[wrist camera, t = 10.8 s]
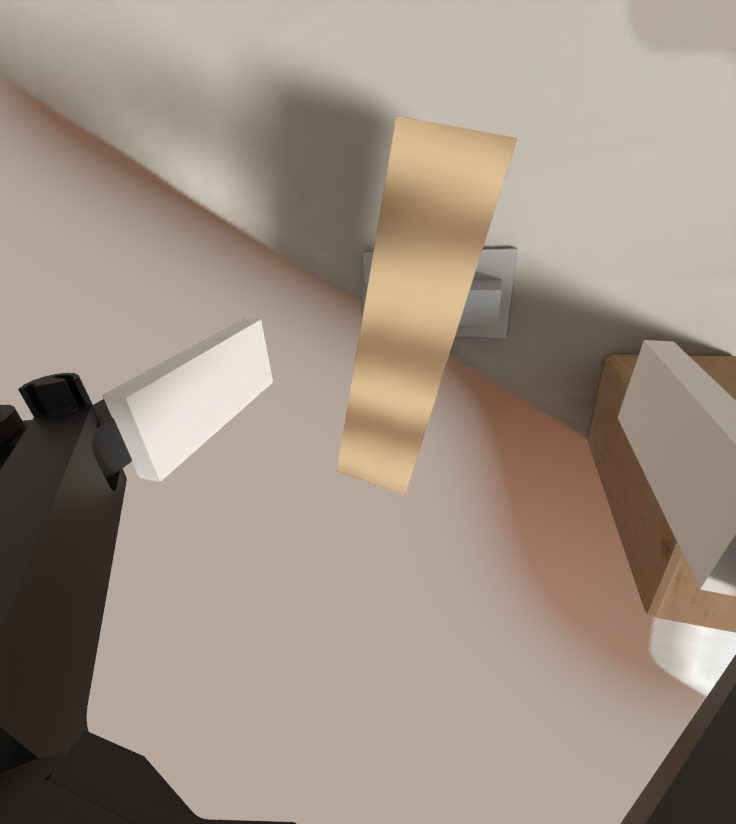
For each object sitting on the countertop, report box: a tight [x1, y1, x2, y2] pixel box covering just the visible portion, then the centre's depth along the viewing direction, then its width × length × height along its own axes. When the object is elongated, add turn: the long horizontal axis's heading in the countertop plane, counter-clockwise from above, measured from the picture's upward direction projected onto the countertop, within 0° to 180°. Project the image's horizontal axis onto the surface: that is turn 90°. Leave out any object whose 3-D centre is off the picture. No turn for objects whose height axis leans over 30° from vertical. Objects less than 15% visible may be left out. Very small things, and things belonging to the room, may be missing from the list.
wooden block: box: [588, 354, 736, 632], centre depth 28 cm, size 10×10×20 cm
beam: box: [337, 116, 517, 495], centre depth 28 cm, size 24×6×6 cm, turn 170°
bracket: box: [360, 248, 517, 339], centre depth 34 cm, size 8×14×9 cm, turn 94°
